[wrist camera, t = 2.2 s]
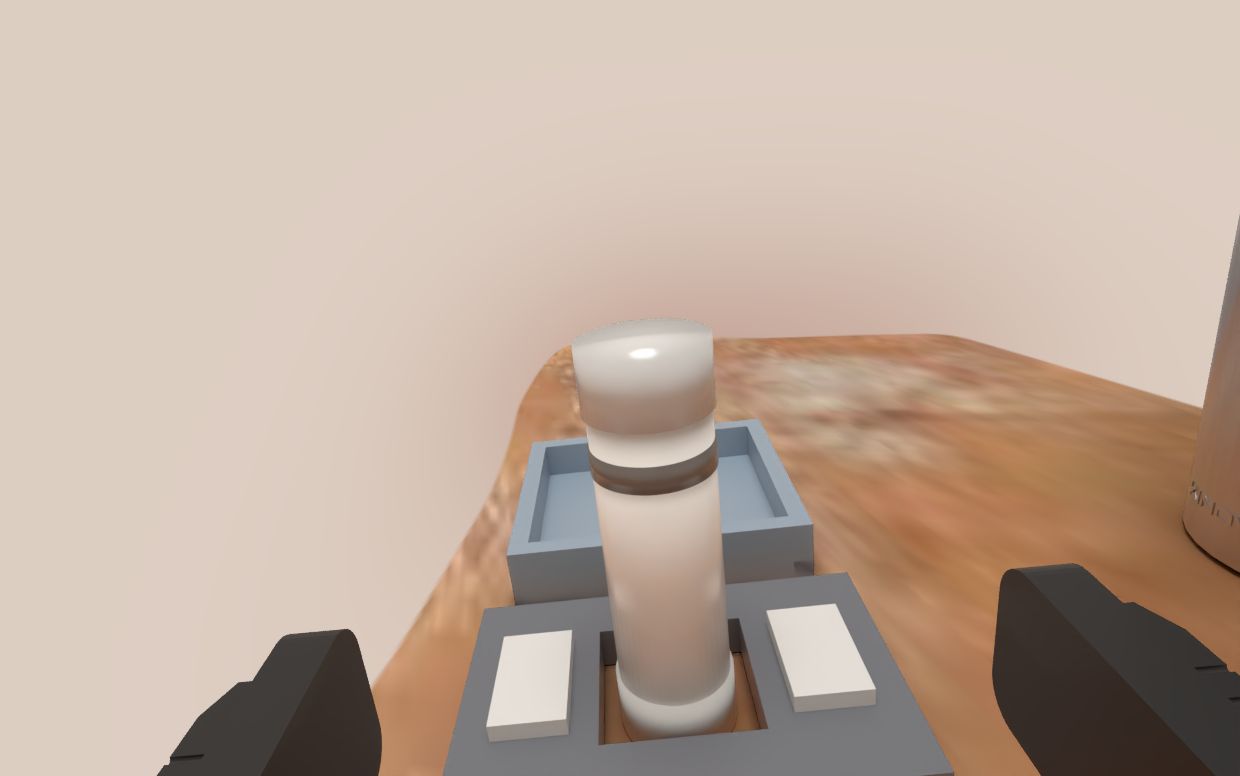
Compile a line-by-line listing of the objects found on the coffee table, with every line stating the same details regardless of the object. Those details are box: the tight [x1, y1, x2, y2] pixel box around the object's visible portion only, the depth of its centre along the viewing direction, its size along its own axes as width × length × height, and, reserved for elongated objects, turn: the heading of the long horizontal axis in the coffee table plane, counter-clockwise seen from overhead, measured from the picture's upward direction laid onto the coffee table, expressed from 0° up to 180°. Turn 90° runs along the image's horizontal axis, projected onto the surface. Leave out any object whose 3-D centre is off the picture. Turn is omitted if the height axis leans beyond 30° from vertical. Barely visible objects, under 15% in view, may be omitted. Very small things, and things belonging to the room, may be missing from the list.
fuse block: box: [443, 572, 954, 776], centre depth 23 cm, size 14×9×2 cm, turn 91°
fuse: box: [571, 318, 737, 742], centre depth 22 cm, size 4×4×13 cm
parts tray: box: [506, 419, 814, 606], centre depth 35 cm, size 12×11×2 cm
